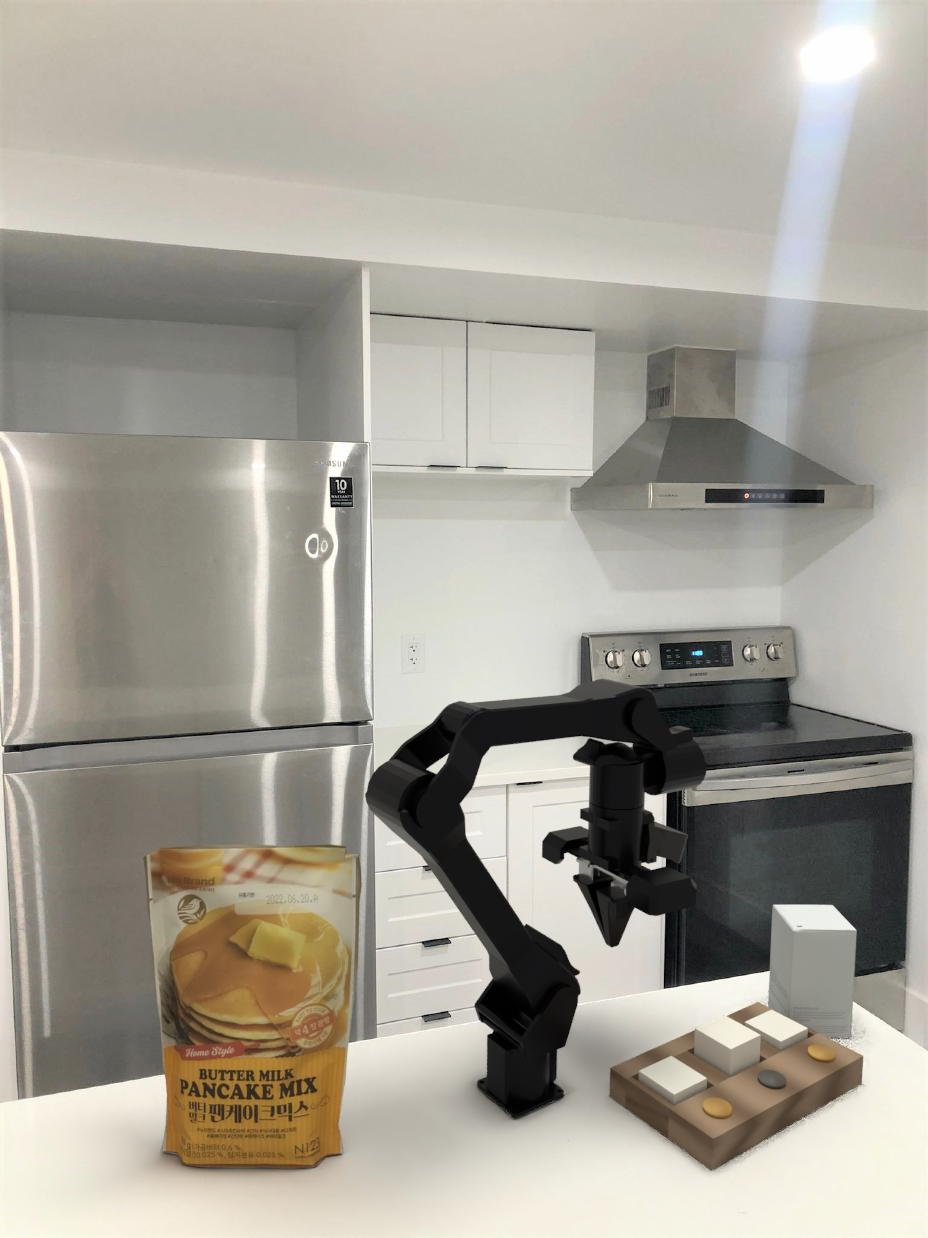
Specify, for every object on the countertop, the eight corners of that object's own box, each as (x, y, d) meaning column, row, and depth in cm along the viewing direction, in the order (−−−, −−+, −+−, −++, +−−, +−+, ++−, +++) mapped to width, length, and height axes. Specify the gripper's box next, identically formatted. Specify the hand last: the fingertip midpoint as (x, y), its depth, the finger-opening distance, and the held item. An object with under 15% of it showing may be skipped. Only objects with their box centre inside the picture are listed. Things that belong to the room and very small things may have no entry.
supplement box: (853, 1039, 104) (859, 931, 103) (786, 1038, 105) (791, 929, 103) (828, 1005, 112) (834, 903, 110) (766, 1004, 112) (771, 902, 111)
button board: (712, 1170, 83) (713, 1134, 83) (609, 1096, 94) (610, 1064, 93) (861, 1083, 96) (863, 1052, 96) (756, 1027, 107) (758, 998, 106)
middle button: (729, 1080, 93) (730, 1049, 92) (693, 1058, 96) (694, 1028, 96) (759, 1064, 95) (760, 1035, 95) (723, 1044, 99) (724, 1015, 99)
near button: (673, 1126, 88) (674, 1094, 88) (637, 1101, 92) (638, 1071, 92) (705, 1109, 91) (707, 1078, 91) (670, 1085, 95) (671, 1056, 94)
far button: (779, 1071, 98) (780, 1041, 97) (743, 1050, 101) (744, 1022, 101) (806, 1056, 100) (808, 1028, 100) (770, 1037, 104) (771, 1009, 104)
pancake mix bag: (162, 1121, 89) (155, 835, 86) (363, 1124, 89) (362, 838, 86) (137, 1171, 82) (128, 862, 79) (354, 1173, 82) (354, 865, 79)
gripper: (739, 815, 94) (733, 964, 95) (618, 770, 110) (615, 899, 111) (655, 832, 88) (649, 991, 90) (540, 783, 104) (537, 918, 106)
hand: (612, 945), depth 99 cm, fingers closed
